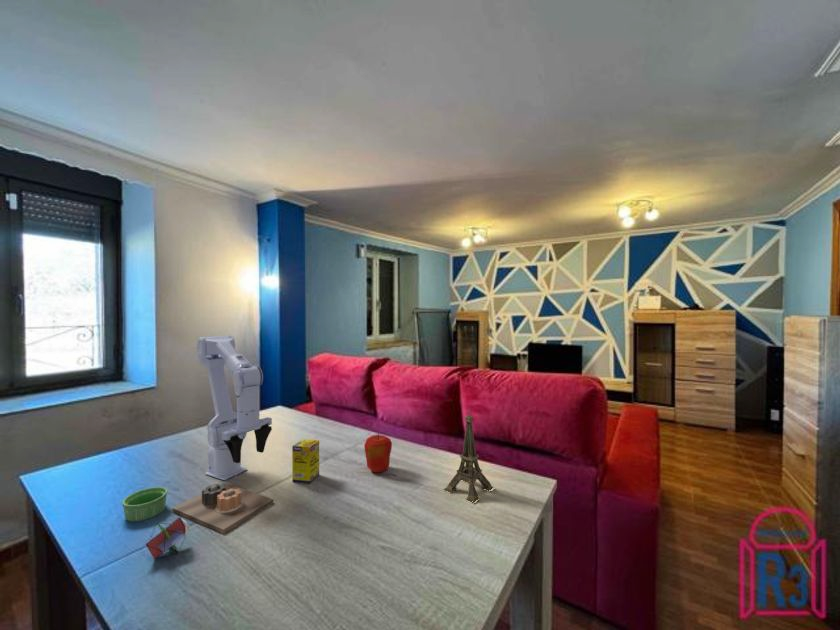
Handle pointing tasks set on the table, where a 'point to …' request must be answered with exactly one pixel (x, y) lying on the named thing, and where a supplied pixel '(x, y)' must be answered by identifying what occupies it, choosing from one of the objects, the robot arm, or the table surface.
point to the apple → (378, 453)
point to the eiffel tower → (469, 466)
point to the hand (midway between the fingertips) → (248, 456)
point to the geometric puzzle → (168, 537)
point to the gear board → (221, 521)
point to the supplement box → (305, 460)
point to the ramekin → (145, 503)
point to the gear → (229, 500)
